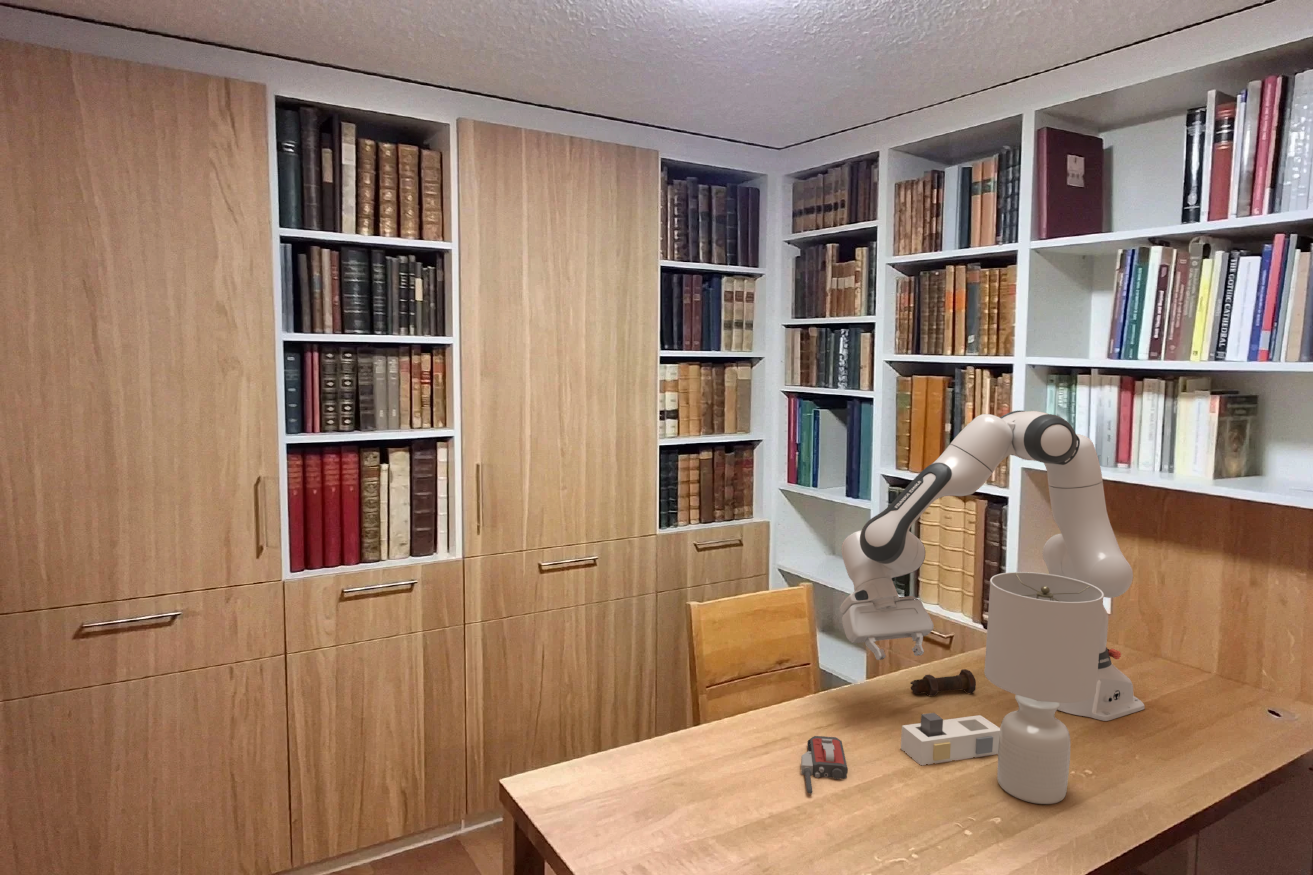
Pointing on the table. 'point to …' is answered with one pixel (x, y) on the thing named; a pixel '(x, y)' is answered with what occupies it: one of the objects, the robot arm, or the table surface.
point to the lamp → (1040, 673)
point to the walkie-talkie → (823, 760)
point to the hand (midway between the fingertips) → (900, 656)
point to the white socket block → (951, 740)
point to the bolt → (945, 683)
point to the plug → (931, 724)
